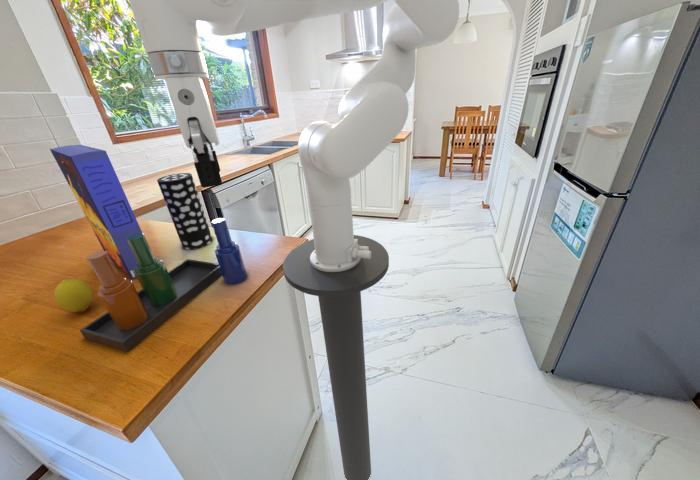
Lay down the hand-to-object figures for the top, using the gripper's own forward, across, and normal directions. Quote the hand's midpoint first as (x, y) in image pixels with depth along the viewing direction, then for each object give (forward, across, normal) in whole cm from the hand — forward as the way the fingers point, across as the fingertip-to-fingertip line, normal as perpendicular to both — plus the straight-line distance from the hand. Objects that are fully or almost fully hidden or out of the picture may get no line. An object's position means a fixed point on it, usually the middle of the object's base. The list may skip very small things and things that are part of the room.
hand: (212, 178), depth 52 cm
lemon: (+26, +10, +32) cm, 42 cm away
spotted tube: (+26, +32, +11) cm, 42 cm away
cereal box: (+26, +30, +28) cm, 48 cm away
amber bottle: (+25, 0, +21) cm, 32 cm away
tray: (+25, +5, +16) cm, 30 cm away
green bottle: (+24, +5, +16) cm, 30 cm away
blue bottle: (+25, +6, +1) cm, 26 cm away
